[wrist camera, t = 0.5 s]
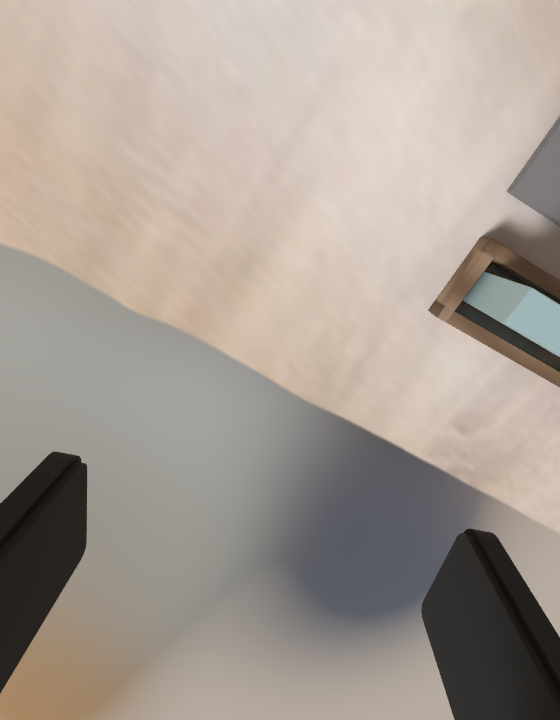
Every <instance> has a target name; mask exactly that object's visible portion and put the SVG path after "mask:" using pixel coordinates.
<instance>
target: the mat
mask: <svg viewBox="0 0 560 720" xmlns="http://www.w3.org/2000/svg"><path fill="white" fill-rule="evenodd" d="M507 192H508V193H510V194H511V195H513V196H514V197H516V198H517V199H519V200H520V201H522V202H523V203H525V204H526V205H528V206H529V207H531V208H533V209H534V210H536V211H537V212H539V213H540V214H542V215H543V216H545V217H546V218H548V219H549V220H551V221H552V222H554V223H555V224H557V225H558V226H560V117H559V118H558V120H557V121H556V123H555V124H554V125H553V127H552V128H551V130H550V131H549V132H548V134H547V135H546V137H545V138H544V140H543V141H542V142H541V144H540V145H539V147H538V148H537V149H536V151H535V152H534V154H533V155H532V156H531V158H530V159H529V161H528V162H527V163H526V165H525V166H524V168H523V169H522V171H521V172H520V173H519V175H518V176H517V178H516V179H515V180H514V182H513V183H512V185H511V186H510V187H509V189H508V190H507Z"/></svg>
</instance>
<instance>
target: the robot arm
mask: <svg viewBox="0 0 560 720" xmlns="http://www.w3.org/2000/svg"><path fill="white" fill-rule="evenodd" d="M86 525H87V465H86V464H84V463H81V458H80V457H79V456H76V455H71V454H65V453H60V452H52V453H51V454H49V455H48V456H47V457H46V458H45V459H44V460H43V461H42V462H41V463H40V464H39V465H38V466H37V468H36V469H34V470H33V471H32V472H31V473H30V474H29V475H28V476H27V477H26V478H25V479H24V481H23V482H22V483H21V484H20V485H19V486H18V487H17V488H16V489H15V490H14V491H13V492H12V493H11V494H10V495H9V496H8V497H7V498H6V499H5V500H4V501H3V502H2V503H0V693H1V691H2V690H3V688H4V686H5V685H6V683H7V681H8V679H9V678H10V676H11V675H12V673H13V671H14V670H15V668H16V666H17V665H18V663H19V661H20V660H21V658H22V656H23V655H24V653H25V651H26V650H27V648H28V646H29V645H30V643H31V642H32V640H33V638H34V636H35V635H36V633H37V632H38V630H39V628H40V626H41V625H42V623H43V622H44V620H45V618H46V617H47V615H48V613H49V612H50V610H51V608H52V607H53V605H54V603H55V602H56V600H57V598H58V597H59V595H60V593H61V592H62V590H63V588H64V587H65V585H66V583H67V582H68V580H69V578H70V577H71V575H72V574H73V572H74V570H75V568H76V567H77V565H78V564H79V562H80V560H81V558H82V556H83V554H84V551H85V548H86V533H87V526H86ZM422 618H423V621H424V625H425V628H426V631H427V634H428V637H429V640H430V643H431V647H432V650H433V653H434V656H435V659H436V662H437V666H438V669H439V672H440V675H441V678H442V681H443V684H444V688H445V691H446V694H447V697H448V700H449V703H450V707H451V709H452V713H453V716H454V719H455V720H560V637H559V636H558V634H557V632H556V631H555V629H554V628H553V626H552V624H551V623H550V622H549V620H548V618H547V616H546V615H545V613H544V612H543V610H542V608H541V607H540V605H539V604H538V602H537V600H536V599H535V597H534V595H533V594H532V592H531V591H530V589H529V587H528V586H527V584H526V583H525V581H524V580H523V578H522V576H521V575H520V573H519V571H518V570H517V568H516V567H515V565H514V563H513V562H512V560H511V559H510V557H509V555H508V554H507V552H506V551H505V549H504V547H503V546H502V544H501V543H500V541H499V539H498V538H497V537H496V535H495V534H493V533H490V532H484V531H479V530H474V529H467V530H465V532H464V533H463V534H462V533H461V534H459V535H458V536H457V538H456V540H455V542H454V544H453V546H452V548H451V550H450V551H449V553H448V555H447V557H446V559H445V561H444V563H443V565H442V566H441V569H440V570H439V572H438V574H437V576H436V578H435V580H434V582H433V584H432V586H431V588H430V589H429V591H428V593H427V595H426V597H425V599H424V601H423V603H422Z"/></svg>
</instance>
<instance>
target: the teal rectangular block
mask: <svg viewBox="0 0 560 720" xmlns="http://www.w3.org/2000/svg"><path fill="white" fill-rule="evenodd" d="M463 301H464V302H466V303H468V304H469V305H471V306H473V307H475V308H476V309H478V310H480V311H481V312H483V313H485V314H486V315H488V316H490V317H492V318H493V319H495V320H497V321H498V322H500V323H502V324H503V325H505V326H507V327H509V328H510V329H512V330H514V331H515V332H517V333H519V334H520V335H522V336H524V337H526V338H527V339H529V340H531V341H532V342H534V343H536V344H537V345H539V346H541V347H543V348H544V349H546V350H548V351H549V352H551V353H553V354H555V355H556V356H558V357H560V305H559V304H558V303H556V302H554V301H553V300H551V299H550V298H548V297H546V296H545V295H543V294H541V293H540V292H538V291H537V290H535V289H533V288H531V287H528V286H525V285H522V284H519V283H516V282H513V281H510V280H508V279H505V278H502V277H499V276H496V275H493V274H490V273H487V272H483V273H482V275H481V276H480V277H479V279H478V280H477V281H476V283H475V284H474V285H473V287H472V288H471V289H470V291H469V292H468V293H467V295H466V296H465V297H464V299H463Z"/></svg>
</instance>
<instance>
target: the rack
mask: <svg viewBox="0 0 560 720" xmlns="http://www.w3.org/2000/svg"><path fill="white" fill-rule="evenodd" d="M491 262H493V263H494V264H496V265H498V266H499V267H501V268H502V269H504V270H506V271H507V272H509V273H511V274H512V275H514V276H515V277H517V278H519V279H520V280H522V281H524V282H525V283H527V284H528V285H530V286H532V287H533V288H535V289H537V290H538V291H540V292H541V293H543V294H545V295H546V296H548V297H550V298H551V299H553V300H554V301H556V302H558V303H559V304H560V281H559V280H557V279H556V278H554V277H552V276H551V275H549V274H548V273H546V272H544V271H543V270H541V269H540V268H538V267H536V266H535V265H533V264H532V263H530V262H529V261H527V260H525V259H524V258H522V257H521V256H519V255H517V254H516V253H514V252H513V251H511V250H509V249H508V248H506V247H505V246H503V245H501V244H500V243H498V242H497V241H495V240H492V239H486V238H480V239H479V240H478V241H477V243H476V244H475V246H474V247H473V248H472V250H471V251H470V253H469V254H468V255H467V257H466V258H465V260H464V261H463V262H462V264H461V265H460V267H459V268H458V269H457V271H456V272H455V274H454V275H453V276H452V278H451V279H450V281H449V282H448V283H447V285H446V286H445V288H444V289H443V290H442V292H441V293H440V295H439V296H438V297H437V299H436V300H435V302H434V303H433V304H432V306H431V307H430V309H429V310H428V311H430V312H431V313H432V314H434V315H435V316H436V317H438V318H439V319H441V320H443V321H445V322H446V323H448V324H450V325H452V326H453V327H455V328H457V329H459V330H460V331H462V332H464V333H466V334H467V335H469V336H471V337H473V338H474V339H476V340H478V341H480V342H481V343H483V344H485V345H487V346H488V347H490V348H492V349H494V350H495V351H497V352H499V353H501V354H502V355H504V356H506V357H508V358H509V359H511V360H513V361H515V362H516V363H518V364H520V365H522V366H523V367H525V368H527V369H529V370H530V371H532V372H534V373H536V374H537V375H539V376H541V377H543V378H544V379H546V380H548V381H550V382H551V383H553V384H555V385H557V386H558V387H560V372H559V371H557V370H556V369H554V368H552V367H550V366H549V365H547V364H545V363H544V362H542V361H540V360H538V359H537V358H535V357H533V356H532V355H530V354H528V353H526V352H525V351H523V350H521V349H519V348H518V347H516V346H514V345H513V344H511V343H509V342H507V341H506V340H504V339H502V338H500V337H499V336H497V335H495V334H494V333H492V332H490V331H488V330H487V329H485V328H483V327H482V326H480V325H478V324H476V323H475V322H473V321H471V320H469V319H468V318H466V317H464V316H463V315H461V314H459V313H457V312H456V311H455V310H456V308H457V307H458V306H459V304H460V303H461V302H462V300H463V299H464V297H465V296H466V295H467V293H468V292H469V291H470V289H471V288H472V287H473V285H474V284H475V283H476V281H477V280H478V279H479V277H480V276H481V275H482V273H483V272H484V271H485V269H486V268H487V267H488V265H489V264H490V263H491Z"/></svg>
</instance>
